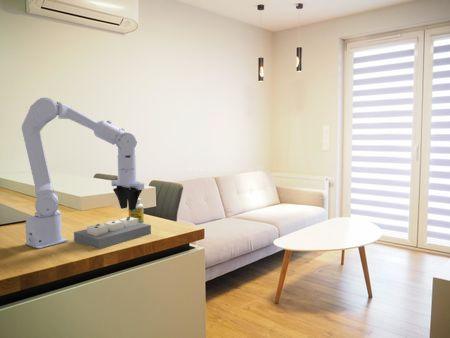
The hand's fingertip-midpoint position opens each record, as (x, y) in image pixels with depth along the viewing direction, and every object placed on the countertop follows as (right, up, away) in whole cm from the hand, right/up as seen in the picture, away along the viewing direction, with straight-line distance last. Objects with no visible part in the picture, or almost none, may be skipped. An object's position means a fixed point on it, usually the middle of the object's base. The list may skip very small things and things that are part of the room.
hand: (128, 209), depth 120 cm
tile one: (-4, -7, -4) cm, 9 cm away
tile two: (-7, -7, -9) cm, 14 cm away
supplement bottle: (-1, -7, +14) cm, 15 cm away
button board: (-4, -9, -4) cm, 10 cm away
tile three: (0, -6, +1) cm, 6 cm away
